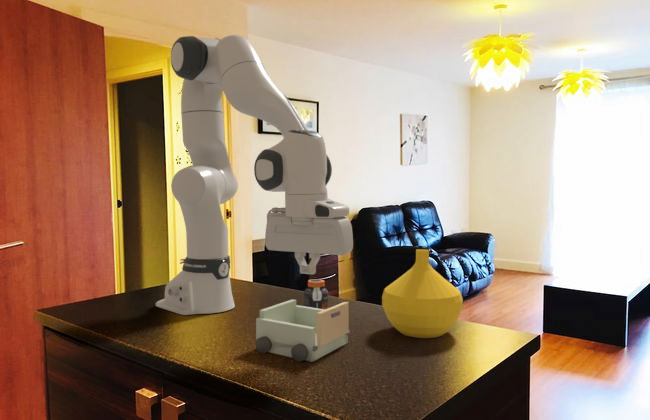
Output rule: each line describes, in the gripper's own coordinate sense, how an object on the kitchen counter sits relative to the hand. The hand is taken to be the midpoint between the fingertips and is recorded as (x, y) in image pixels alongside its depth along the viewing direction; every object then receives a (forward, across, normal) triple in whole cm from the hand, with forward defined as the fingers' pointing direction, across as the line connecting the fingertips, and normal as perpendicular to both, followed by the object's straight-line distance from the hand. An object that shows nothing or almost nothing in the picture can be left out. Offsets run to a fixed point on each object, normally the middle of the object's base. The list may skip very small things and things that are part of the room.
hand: (307, 273), depth 110 cm
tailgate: (+13, +6, 0) cm, 15 cm away
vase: (+16, +16, +23) cm, 32 cm away
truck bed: (+16, -2, 0) cm, 16 cm away
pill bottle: (+16, -7, +13) cm, 22 cm away
